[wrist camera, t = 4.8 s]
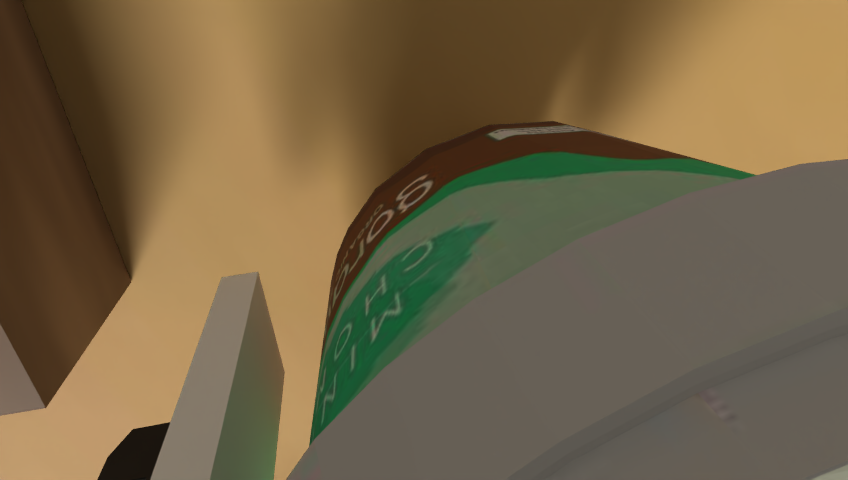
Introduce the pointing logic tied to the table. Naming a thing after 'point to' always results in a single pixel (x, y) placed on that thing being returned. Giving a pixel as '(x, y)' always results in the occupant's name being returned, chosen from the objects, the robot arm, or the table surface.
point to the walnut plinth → (45, 230)
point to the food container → (586, 318)
